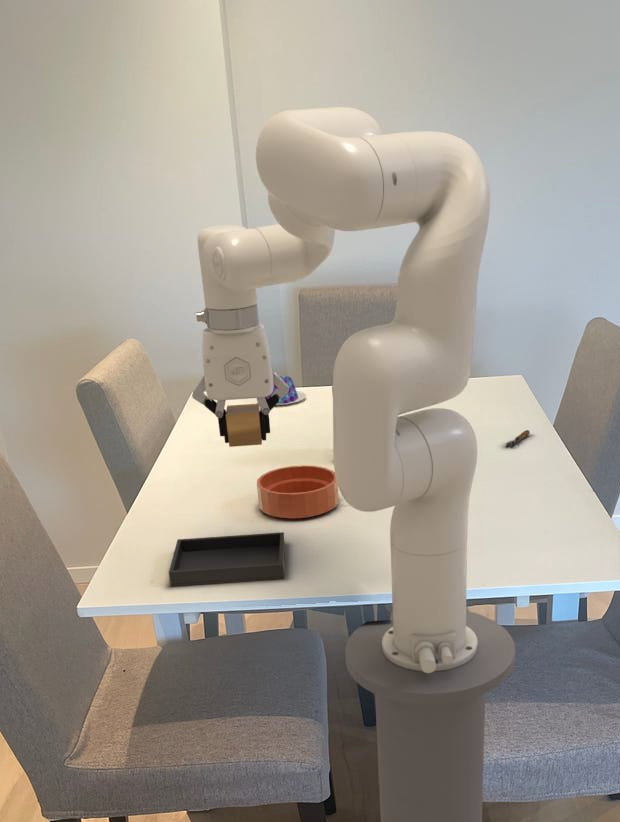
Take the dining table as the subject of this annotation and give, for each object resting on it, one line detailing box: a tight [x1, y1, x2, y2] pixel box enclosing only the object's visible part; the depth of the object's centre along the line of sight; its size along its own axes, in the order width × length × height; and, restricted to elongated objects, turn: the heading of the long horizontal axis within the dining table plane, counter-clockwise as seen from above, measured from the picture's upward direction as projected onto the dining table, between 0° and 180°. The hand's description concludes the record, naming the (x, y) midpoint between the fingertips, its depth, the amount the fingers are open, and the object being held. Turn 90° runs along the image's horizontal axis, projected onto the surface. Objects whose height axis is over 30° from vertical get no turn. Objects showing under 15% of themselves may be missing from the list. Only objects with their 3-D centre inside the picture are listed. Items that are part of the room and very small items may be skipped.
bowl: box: [256, 464, 340, 519], centre depth 165 cm, size 14×14×5 cm
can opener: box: [505, 429, 531, 447], centre depth 189 cm, size 9×2×1 cm, turn 140°
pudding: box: [266, 375, 307, 406], centre depth 224 cm, size 12×12×5 cm
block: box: [225, 403, 263, 448], centre depth 143 cm, size 5×5×5 cm
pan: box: [168, 531, 286, 587], centre depth 145 cm, size 12×17×2 cm
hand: (245, 437), depth 144 cm, fingers closed on block, 5 cm apart
